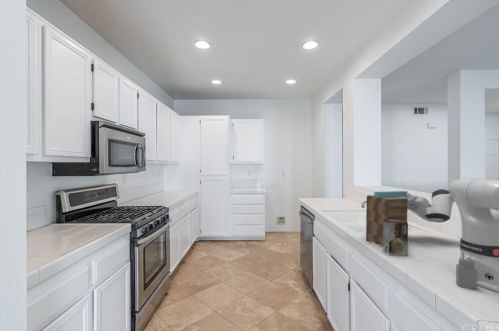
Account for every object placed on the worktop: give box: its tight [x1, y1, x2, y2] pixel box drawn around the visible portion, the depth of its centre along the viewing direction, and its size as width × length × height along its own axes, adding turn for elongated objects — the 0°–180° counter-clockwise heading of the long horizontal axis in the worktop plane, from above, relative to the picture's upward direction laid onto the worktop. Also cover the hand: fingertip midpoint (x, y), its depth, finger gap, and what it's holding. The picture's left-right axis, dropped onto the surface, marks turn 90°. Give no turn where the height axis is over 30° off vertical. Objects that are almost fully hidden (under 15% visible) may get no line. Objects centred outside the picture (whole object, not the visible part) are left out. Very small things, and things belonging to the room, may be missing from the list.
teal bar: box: [373, 190, 409, 198], centre depth 137 cm, size 3×21×3 cm, turn 108°
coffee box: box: [382, 220, 409, 257], centre depth 122 cm, size 9×6×16 cm
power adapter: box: [455, 253, 478, 291], centre depth 89 cm, size 3×5×12 cm, turn 62°
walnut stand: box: [365, 194, 408, 247], centre depth 136 cm, size 16×12×26 cm
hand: (400, 193), depth 140 cm, fingers open, 7 cm apart
